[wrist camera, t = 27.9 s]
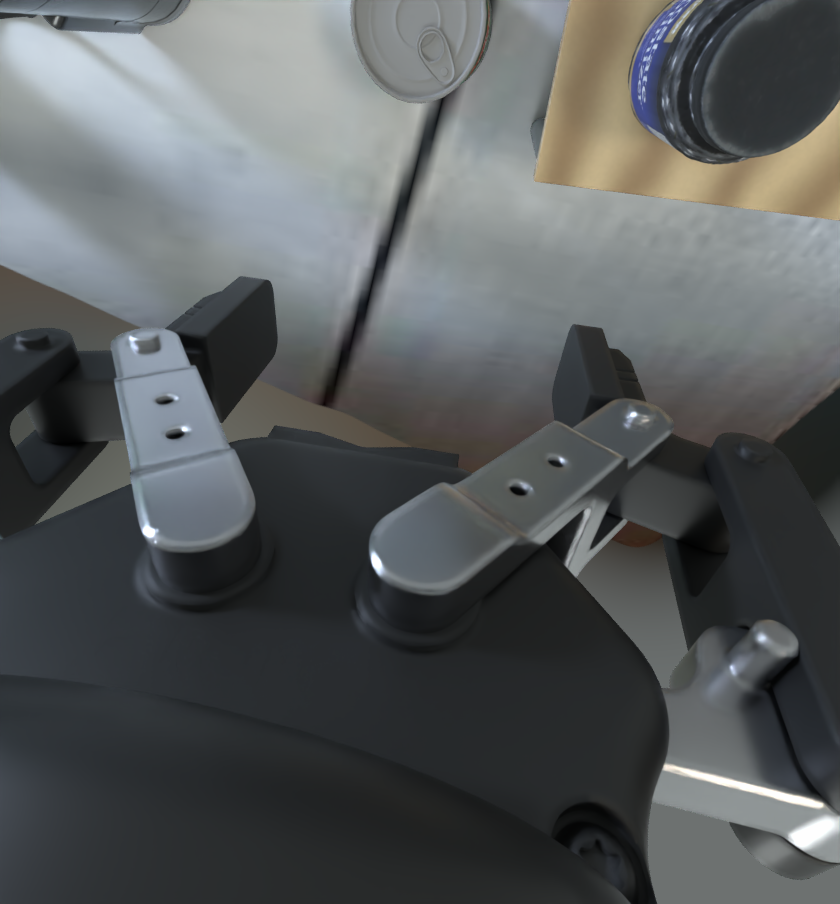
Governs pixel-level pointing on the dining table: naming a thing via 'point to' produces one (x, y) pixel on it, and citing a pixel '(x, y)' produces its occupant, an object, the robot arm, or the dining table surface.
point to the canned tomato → (420, 44)
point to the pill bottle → (736, 75)
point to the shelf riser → (646, 156)
